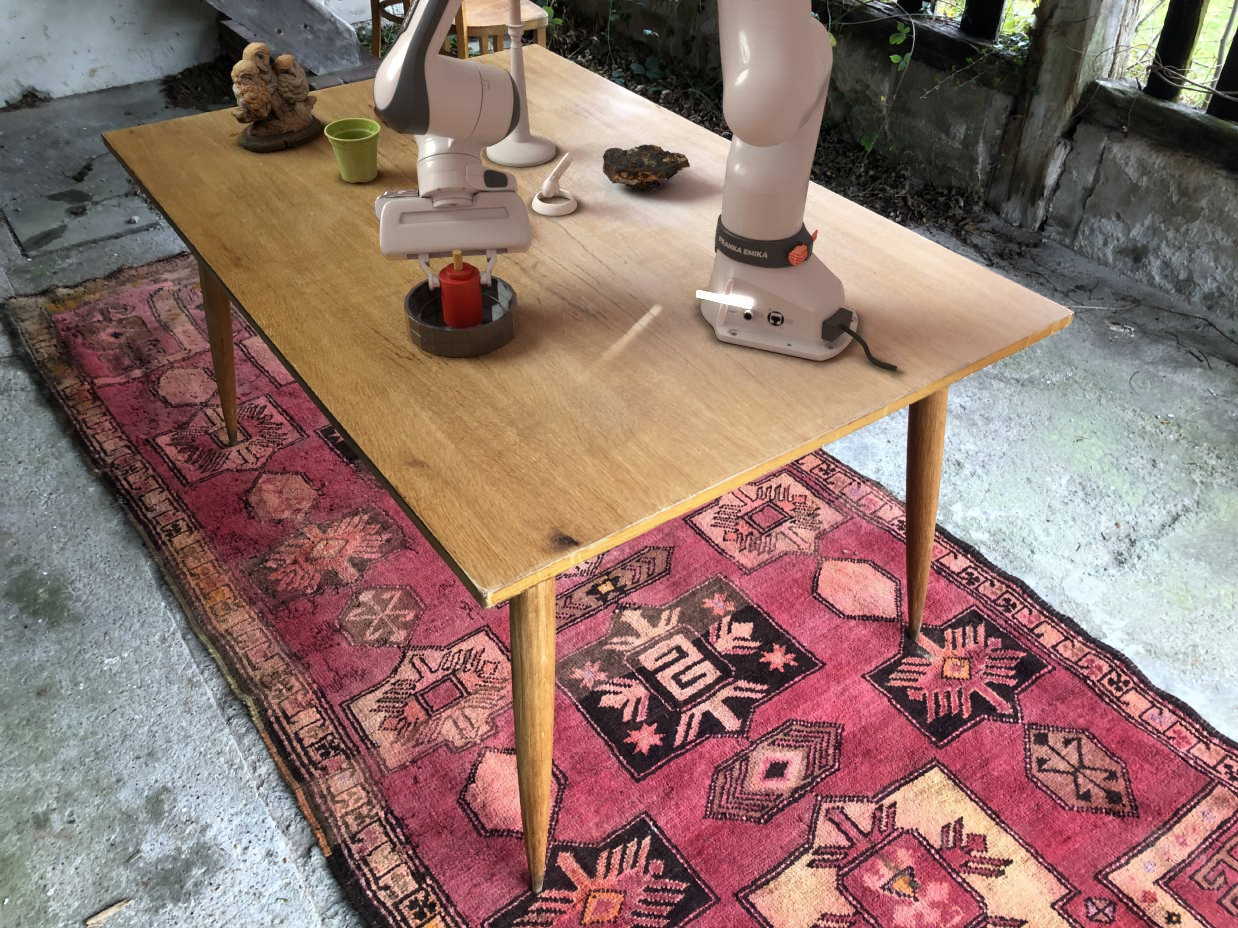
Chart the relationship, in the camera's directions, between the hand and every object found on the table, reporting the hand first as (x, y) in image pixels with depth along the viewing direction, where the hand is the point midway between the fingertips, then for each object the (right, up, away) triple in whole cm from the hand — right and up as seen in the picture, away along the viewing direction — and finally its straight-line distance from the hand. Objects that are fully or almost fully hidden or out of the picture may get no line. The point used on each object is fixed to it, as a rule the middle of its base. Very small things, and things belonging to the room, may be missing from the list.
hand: (461, 287), depth 131 cm
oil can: (0, -4, +4) cm, 5 cm away
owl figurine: (-43, +38, +54) cm, 78 cm away
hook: (+10, +20, +35) cm, 42 cm away
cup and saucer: (-21, +44, +62) cm, 79 cm away
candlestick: (+3, +34, +51) cm, 62 cm away
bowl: (0, -5, +5) cm, 7 cm away
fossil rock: (+26, +26, +42) cm, 56 cm away
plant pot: (-25, +27, +42) cm, 55 cm away
